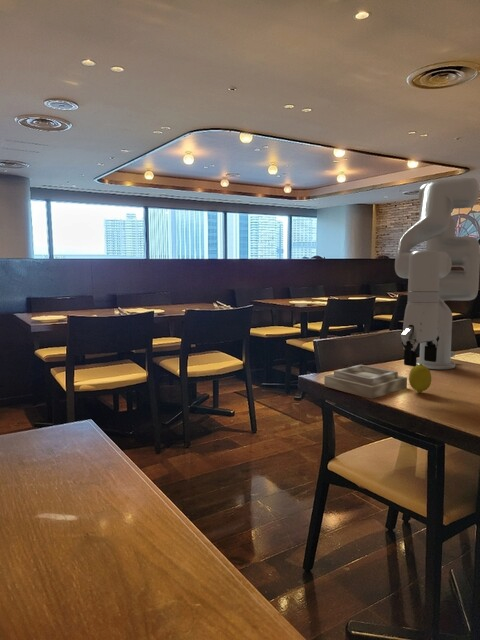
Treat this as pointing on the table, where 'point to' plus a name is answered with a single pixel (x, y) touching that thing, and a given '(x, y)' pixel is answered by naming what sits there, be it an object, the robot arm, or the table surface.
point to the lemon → (420, 378)
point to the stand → (366, 381)
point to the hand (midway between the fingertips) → (420, 363)
